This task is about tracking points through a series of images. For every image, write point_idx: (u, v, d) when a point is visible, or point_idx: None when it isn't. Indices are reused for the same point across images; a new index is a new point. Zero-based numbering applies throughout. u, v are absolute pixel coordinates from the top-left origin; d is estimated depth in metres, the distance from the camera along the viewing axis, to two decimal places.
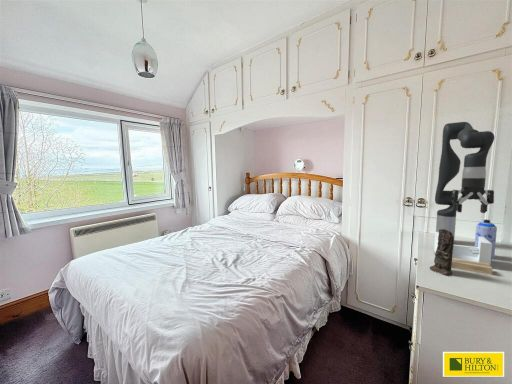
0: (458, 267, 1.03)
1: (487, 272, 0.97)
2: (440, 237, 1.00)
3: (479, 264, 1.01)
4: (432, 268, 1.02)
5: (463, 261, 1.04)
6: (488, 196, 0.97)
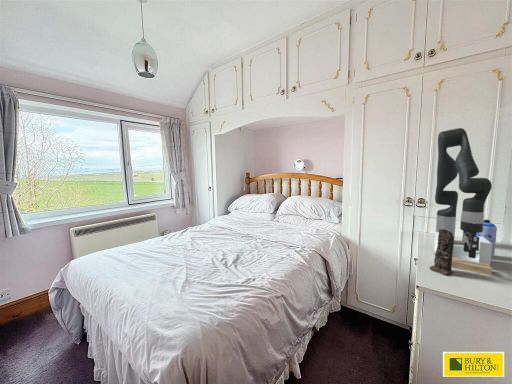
0: (457, 267, 1.03)
1: (487, 272, 0.97)
2: (440, 237, 1.00)
3: (479, 264, 1.00)
4: (432, 268, 1.02)
5: (463, 261, 1.04)
6: None
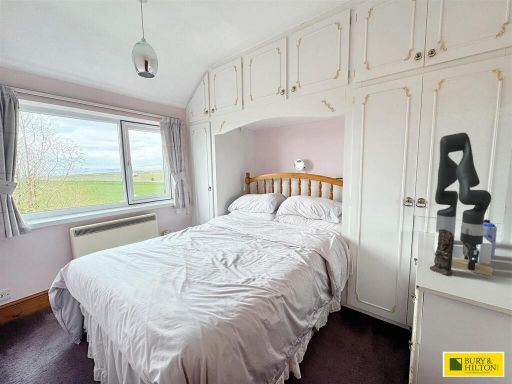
0: (457, 266, 1.03)
1: (487, 272, 0.97)
2: (440, 237, 1.00)
3: (479, 263, 1.00)
4: (432, 268, 1.02)
5: (463, 260, 1.03)
6: None
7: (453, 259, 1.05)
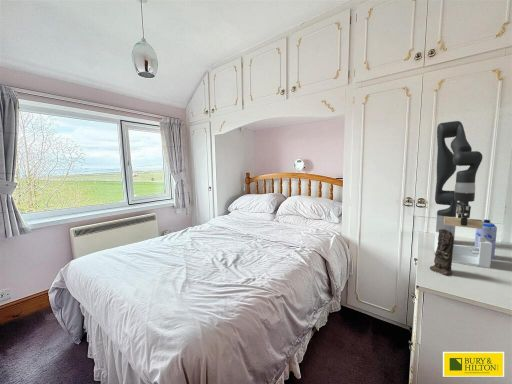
0: (452, 223, 1.11)
1: (478, 226, 1.05)
2: (440, 237, 1.00)
3: (471, 219, 1.09)
4: (432, 268, 1.02)
5: (457, 218, 1.12)
6: None
7: (447, 217, 1.14)
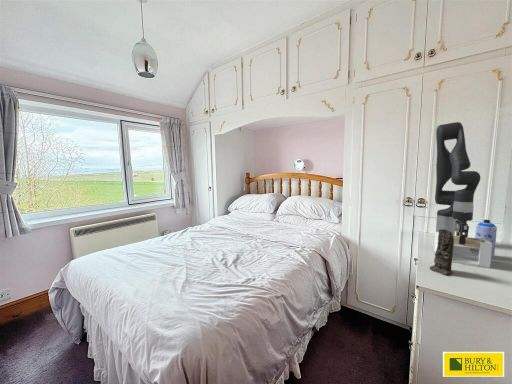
0: None
1: (476, 245, 1.06)
2: (440, 237, 1.00)
3: (469, 238, 1.10)
4: (432, 268, 1.02)
5: (455, 236, 1.13)
6: None
7: None
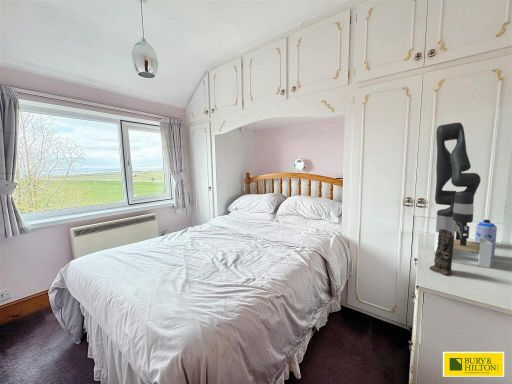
0: None
1: (476, 249, 1.07)
2: (440, 237, 1.00)
3: (469, 242, 1.10)
4: (432, 268, 1.02)
5: (455, 240, 1.13)
6: None
7: None
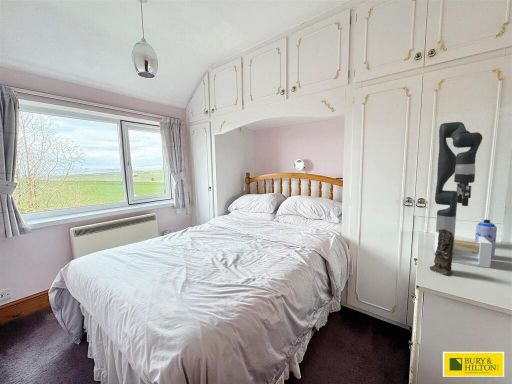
0: None
1: (476, 249, 1.07)
2: (440, 237, 1.00)
3: (469, 242, 1.10)
4: (432, 268, 1.02)
5: (455, 240, 1.13)
6: None
7: None
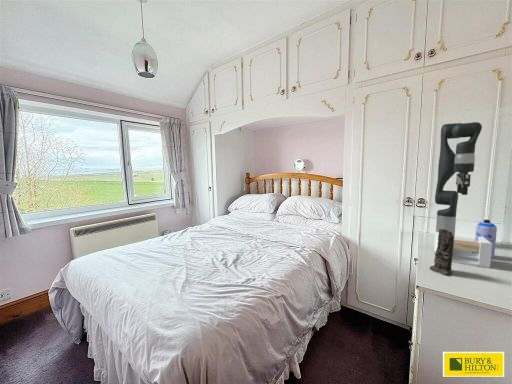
0: None
1: (476, 249, 1.07)
2: (440, 237, 1.00)
3: (469, 242, 1.10)
4: (432, 268, 1.02)
5: (455, 240, 1.13)
6: None
7: None
